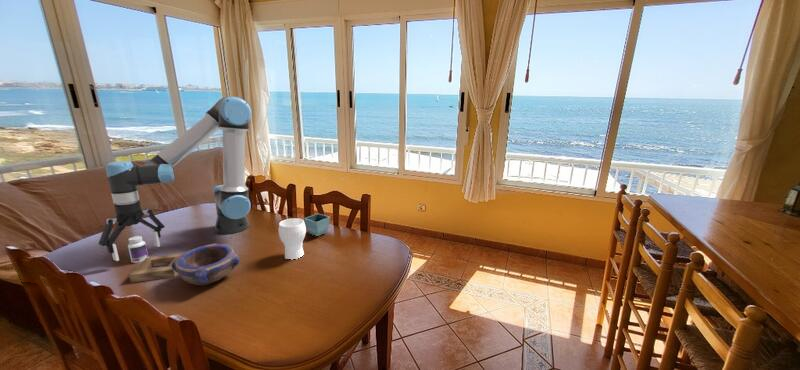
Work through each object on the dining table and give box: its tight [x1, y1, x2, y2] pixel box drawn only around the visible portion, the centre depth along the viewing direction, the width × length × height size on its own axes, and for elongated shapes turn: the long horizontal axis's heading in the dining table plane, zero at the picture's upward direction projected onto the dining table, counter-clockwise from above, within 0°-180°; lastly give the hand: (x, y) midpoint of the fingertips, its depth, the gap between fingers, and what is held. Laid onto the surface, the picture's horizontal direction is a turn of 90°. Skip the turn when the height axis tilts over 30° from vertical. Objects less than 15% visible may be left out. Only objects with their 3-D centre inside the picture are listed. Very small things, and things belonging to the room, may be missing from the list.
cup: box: [277, 217, 307, 261], centre depth 123 cm, size 11×11×15 cm
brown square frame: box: [128, 252, 186, 284], centre depth 112 cm, size 13×13×3 cm
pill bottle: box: [127, 235, 149, 264], centre depth 119 cm, size 5×5×10 cm
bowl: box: [172, 243, 241, 286], centre depth 107 cm, size 18×18×10 cm
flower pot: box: [303, 213, 331, 237], centre depth 145 cm, size 9×9×9 cm
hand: (137, 252), depth 119 cm, fingers open, 13 cm apart
